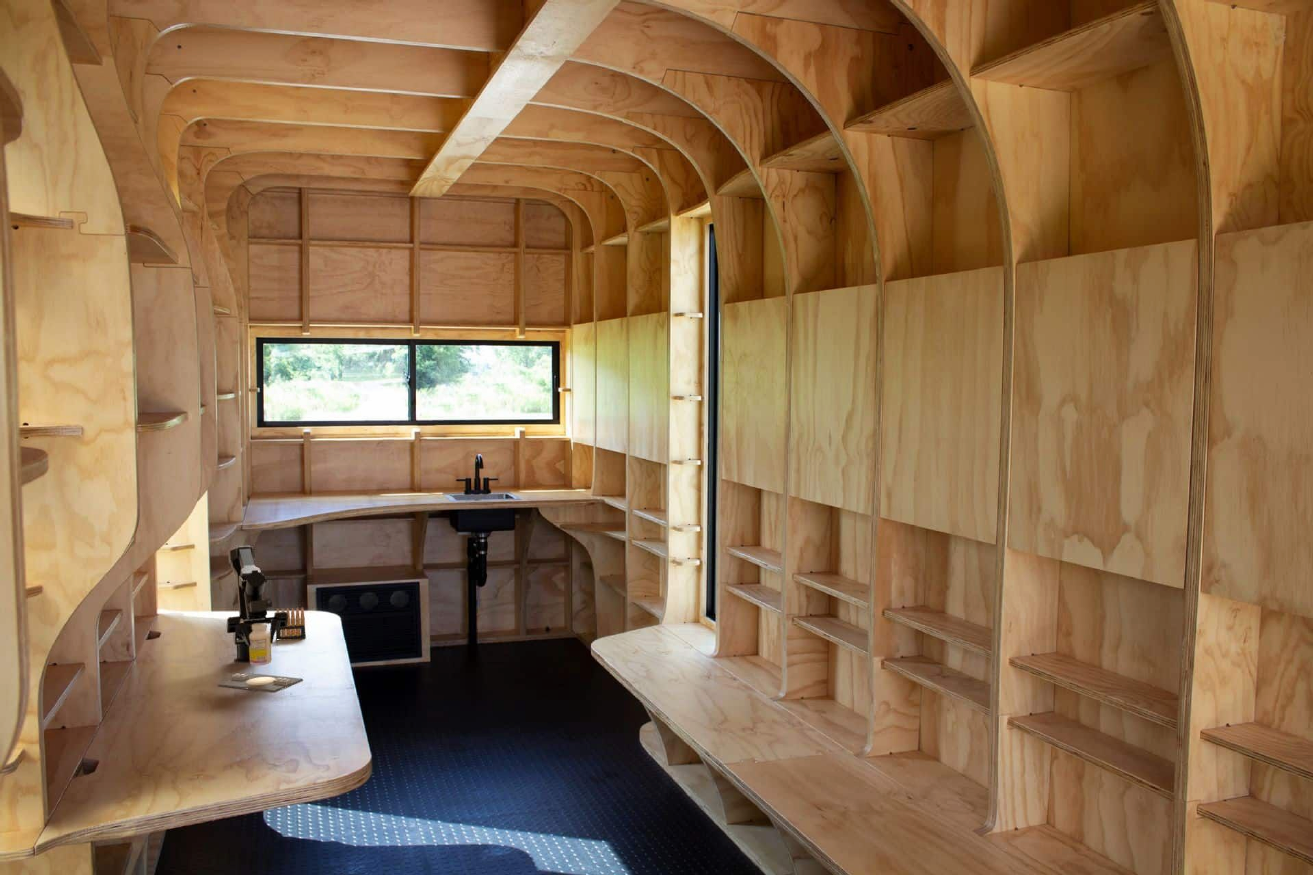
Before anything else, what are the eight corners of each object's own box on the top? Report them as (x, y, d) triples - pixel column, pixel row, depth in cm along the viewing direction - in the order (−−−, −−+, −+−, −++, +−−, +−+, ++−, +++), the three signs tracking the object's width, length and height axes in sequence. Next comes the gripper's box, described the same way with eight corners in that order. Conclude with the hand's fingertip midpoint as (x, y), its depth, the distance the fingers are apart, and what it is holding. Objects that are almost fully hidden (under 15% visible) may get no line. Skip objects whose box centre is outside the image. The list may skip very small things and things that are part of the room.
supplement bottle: (260, 659, 365) (259, 621, 364) (275, 661, 362) (274, 623, 361) (245, 664, 359) (244, 625, 358) (261, 666, 356) (259, 627, 355)
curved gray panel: (218, 685, 358) (218, 679, 358) (248, 674, 371) (248, 668, 371) (274, 692, 350) (274, 685, 350) (302, 680, 364) (302, 673, 363)
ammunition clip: (305, 637, 423) (304, 606, 422) (305, 638, 421) (304, 607, 420) (276, 639, 420) (275, 608, 419) (275, 640, 418) (275, 609, 418)
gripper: (226, 592, 358) (231, 634, 349) (286, 587, 367) (293, 627, 358) (224, 612, 366) (229, 652, 357) (283, 606, 374) (289, 645, 365)
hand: (260, 644), depth 359 cm, fingers closed on supplement bottle, 7 cm apart
